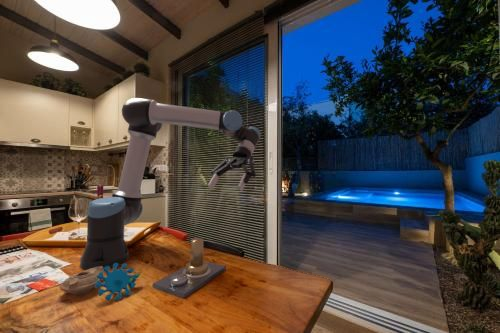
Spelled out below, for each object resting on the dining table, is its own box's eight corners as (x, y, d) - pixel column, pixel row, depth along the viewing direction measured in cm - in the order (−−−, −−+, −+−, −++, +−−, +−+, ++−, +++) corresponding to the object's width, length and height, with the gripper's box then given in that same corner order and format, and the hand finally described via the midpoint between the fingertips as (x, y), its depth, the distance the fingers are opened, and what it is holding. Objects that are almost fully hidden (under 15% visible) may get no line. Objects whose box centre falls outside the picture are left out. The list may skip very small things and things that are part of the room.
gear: (97, 303, 53) (95, 264, 59) (89, 314, 55) (89, 275, 61) (144, 292, 61) (138, 258, 66) (136, 302, 63) (131, 269, 69)
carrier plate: (152, 287, 63) (152, 279, 63) (198, 263, 81) (198, 256, 81) (184, 298, 58) (184, 289, 58) (225, 269, 76) (225, 262, 76)
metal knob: (180, 272, 70) (181, 241, 70) (195, 264, 76) (196, 235, 76) (198, 277, 67) (198, 244, 67) (212, 268, 73) (212, 238, 73)
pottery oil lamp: (115, 276, 69) (117, 259, 67) (82, 311, 58) (84, 292, 56) (89, 266, 70) (91, 249, 67) (52, 298, 58) (53, 279, 56)
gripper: (272, 157, 93) (257, 196, 79) (223, 159, 104) (202, 193, 91) (267, 144, 89) (250, 181, 75) (217, 147, 100) (194, 180, 86)
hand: (224, 188), depth 83 cm, fingers open, 13 cm apart
